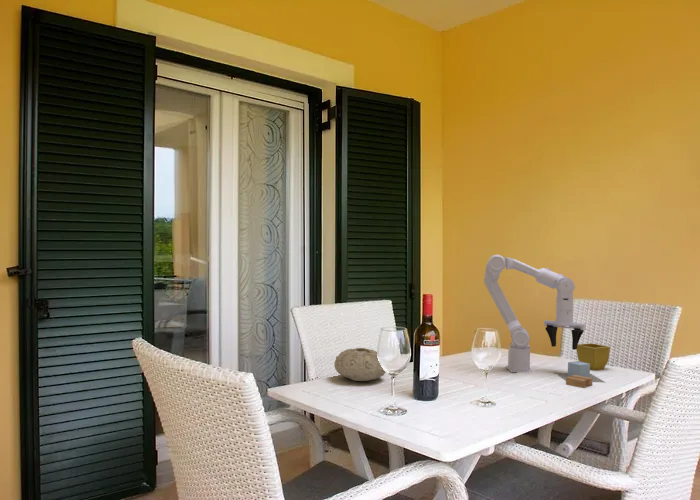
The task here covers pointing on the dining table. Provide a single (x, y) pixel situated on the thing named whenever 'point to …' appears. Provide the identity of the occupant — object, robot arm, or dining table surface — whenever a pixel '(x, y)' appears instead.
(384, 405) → the dining table surface
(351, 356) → the grey rounded lump
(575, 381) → the walnut block
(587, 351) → the flower pot
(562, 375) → the letter mat
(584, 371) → the blue cube
